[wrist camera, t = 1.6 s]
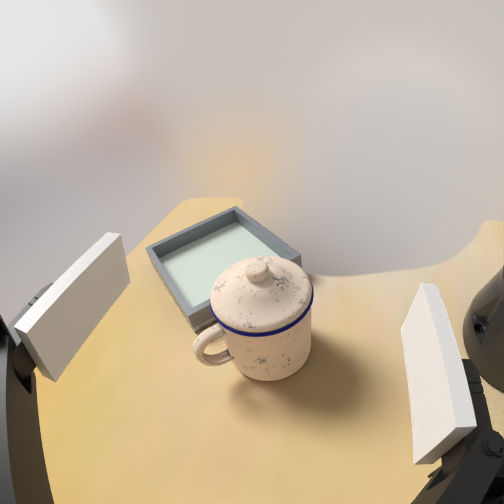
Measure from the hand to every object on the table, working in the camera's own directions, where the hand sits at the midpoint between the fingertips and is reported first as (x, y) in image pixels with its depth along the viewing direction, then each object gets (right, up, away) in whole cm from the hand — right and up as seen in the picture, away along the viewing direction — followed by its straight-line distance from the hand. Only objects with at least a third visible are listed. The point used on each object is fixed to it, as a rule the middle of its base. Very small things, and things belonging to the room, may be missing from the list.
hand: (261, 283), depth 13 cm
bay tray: (-5, -1, +31) cm, 32 cm away
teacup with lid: (0, -10, +20) cm, 22 cm away
